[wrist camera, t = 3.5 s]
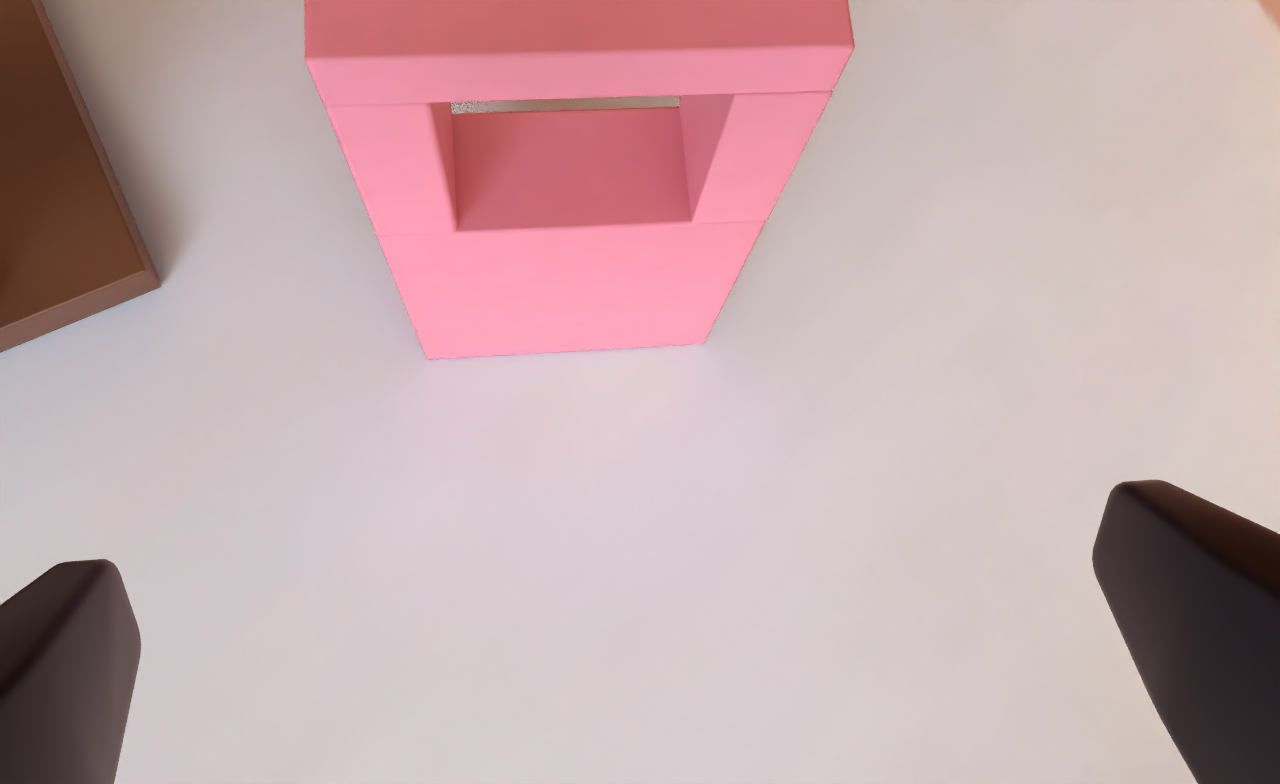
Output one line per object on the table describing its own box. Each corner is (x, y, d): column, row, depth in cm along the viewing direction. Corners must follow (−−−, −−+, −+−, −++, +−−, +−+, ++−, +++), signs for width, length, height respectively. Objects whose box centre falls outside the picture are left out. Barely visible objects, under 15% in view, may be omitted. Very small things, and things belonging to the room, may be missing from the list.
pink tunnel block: (704, 344, 24) (857, 48, 12) (426, 360, 23) (303, 61, 11) (695, 256, 24) (833, -109, 13) (422, 269, 23) (302, -105, 12)
